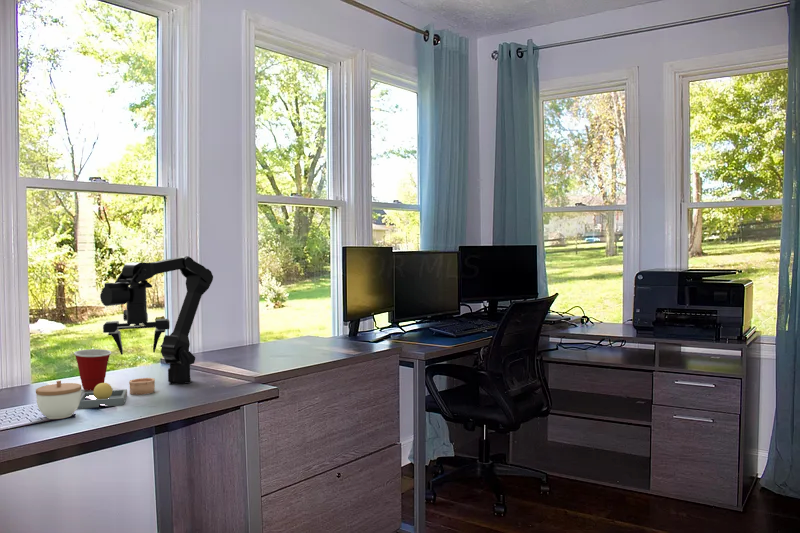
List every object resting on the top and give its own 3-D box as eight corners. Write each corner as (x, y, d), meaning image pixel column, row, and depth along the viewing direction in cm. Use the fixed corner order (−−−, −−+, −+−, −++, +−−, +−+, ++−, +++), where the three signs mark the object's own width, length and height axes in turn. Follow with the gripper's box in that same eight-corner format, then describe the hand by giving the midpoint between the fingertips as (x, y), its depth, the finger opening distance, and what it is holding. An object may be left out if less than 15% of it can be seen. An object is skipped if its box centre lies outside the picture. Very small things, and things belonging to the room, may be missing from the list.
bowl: (155, 388, 203) (155, 377, 202) (154, 393, 196) (154, 381, 196) (130, 390, 200) (130, 379, 200) (128, 395, 193) (128, 383, 193)
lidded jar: (50, 423, 163) (49, 386, 163) (28, 418, 168) (27, 382, 168) (90, 414, 172) (89, 379, 172) (67, 409, 178) (66, 375, 177)
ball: (113, 397, 188) (113, 380, 188) (111, 401, 184) (111, 384, 184) (94, 398, 187) (94, 381, 187) (92, 402, 182) (92, 384, 182)
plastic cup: (94, 393, 197) (93, 354, 197) (66, 391, 200) (65, 353, 200) (120, 386, 207) (119, 349, 207) (93, 384, 210) (92, 347, 210)
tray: (127, 395, 193) (127, 389, 193) (123, 405, 182) (123, 398, 181) (83, 399, 189) (83, 392, 189) (76, 408, 178) (76, 401, 178)
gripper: (169, 299, 208) (170, 347, 209) (106, 302, 202) (108, 351, 203) (168, 302, 198) (169, 352, 198) (102, 305, 192) (103, 357, 192)
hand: (138, 353), depth 198 cm, fingers open, 9 cm apart
